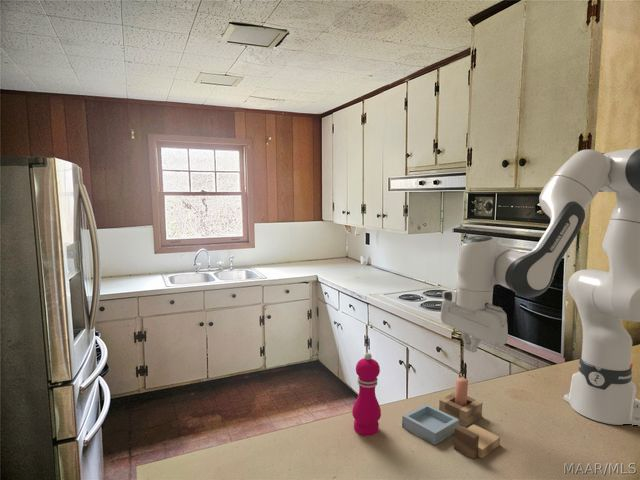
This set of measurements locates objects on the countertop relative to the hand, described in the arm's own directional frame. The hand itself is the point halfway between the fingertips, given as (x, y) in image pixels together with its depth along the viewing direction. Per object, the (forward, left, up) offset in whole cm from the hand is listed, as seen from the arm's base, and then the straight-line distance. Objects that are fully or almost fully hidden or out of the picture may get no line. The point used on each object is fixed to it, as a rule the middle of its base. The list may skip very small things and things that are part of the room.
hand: (470, 350), depth 109 cm
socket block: (0, -2, -19) cm, 19 cm away
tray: (+12, -3, -19) cm, 23 cm away
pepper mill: (+25, -13, -19) cm, 34 cm away
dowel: (0, -2, -19) cm, 19 cm away
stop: (+13, +8, -19) cm, 24 cm away
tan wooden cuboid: (+8, +8, -19) cm, 23 cm away
